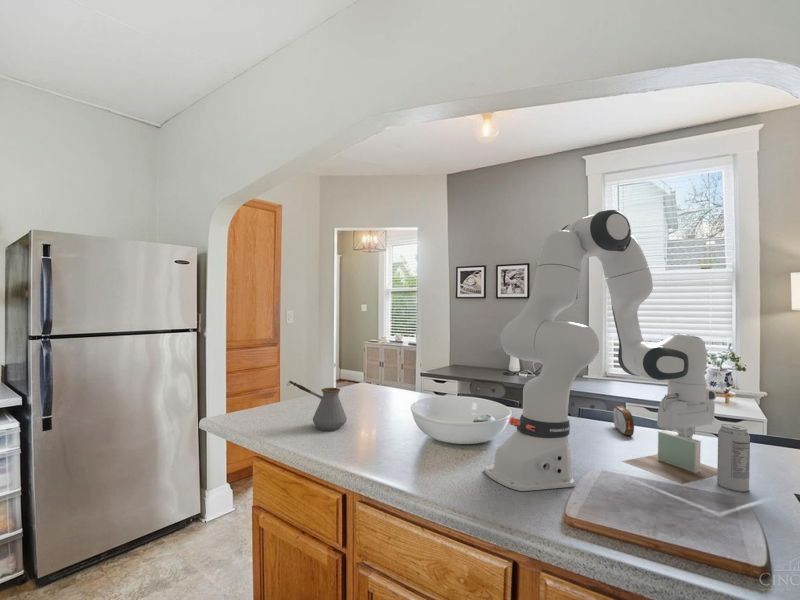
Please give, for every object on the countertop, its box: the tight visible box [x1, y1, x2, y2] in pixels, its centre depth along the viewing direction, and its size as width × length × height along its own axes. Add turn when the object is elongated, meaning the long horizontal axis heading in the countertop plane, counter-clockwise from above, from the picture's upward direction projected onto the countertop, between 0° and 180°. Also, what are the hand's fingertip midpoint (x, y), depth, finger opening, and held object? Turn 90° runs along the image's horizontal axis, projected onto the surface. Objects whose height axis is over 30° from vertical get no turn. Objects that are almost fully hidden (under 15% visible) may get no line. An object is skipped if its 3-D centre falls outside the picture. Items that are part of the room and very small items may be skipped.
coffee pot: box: [286, 380, 348, 432], centre depth 142 cm, size 21×12×15 cm, turn 81°
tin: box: [612, 405, 635, 437], centre depth 147 cm, size 15×3×8 cm, turn 168°
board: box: [621, 453, 717, 485], centre depth 113 cm, size 20×16×1 cm
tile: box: [657, 430, 702, 473], centre depth 114 cm, size 2×10×8 cm, turn 26°
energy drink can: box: [716, 423, 751, 493], centre depth 100 cm, size 6×6×15 cm
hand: (685, 442), depth 115 cm, fingers closed
